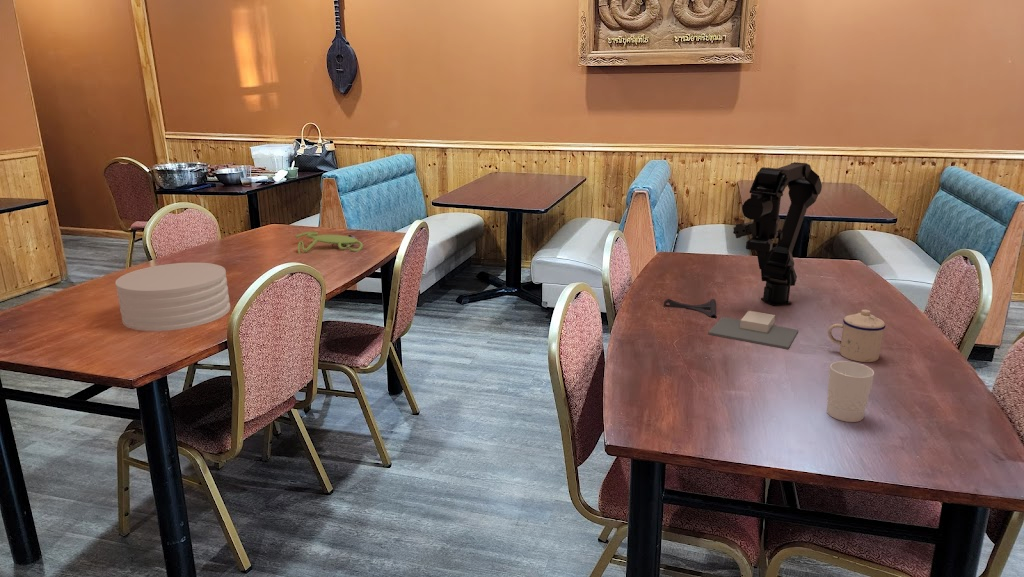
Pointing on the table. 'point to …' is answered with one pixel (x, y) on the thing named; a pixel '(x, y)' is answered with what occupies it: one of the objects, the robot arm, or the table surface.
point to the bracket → (695, 307)
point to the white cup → (848, 390)
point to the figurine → (330, 241)
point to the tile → (757, 321)
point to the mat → (754, 333)
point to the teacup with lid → (860, 336)
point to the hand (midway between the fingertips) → (761, 268)
